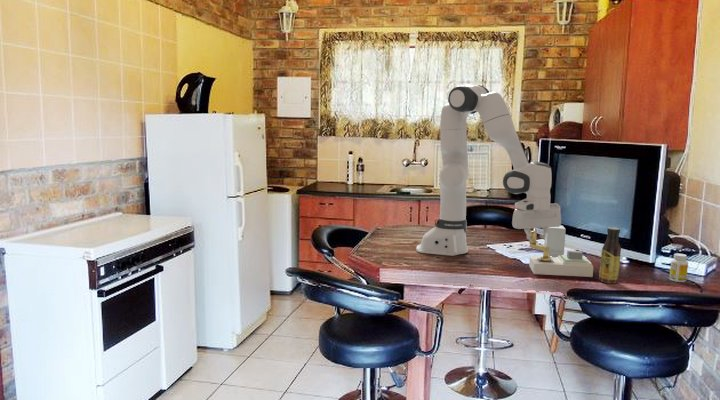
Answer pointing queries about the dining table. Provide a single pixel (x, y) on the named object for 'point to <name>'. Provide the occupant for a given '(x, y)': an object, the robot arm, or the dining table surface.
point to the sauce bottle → (610, 257)
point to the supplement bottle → (679, 268)
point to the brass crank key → (539, 247)
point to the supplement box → (555, 241)
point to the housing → (560, 267)
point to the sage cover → (574, 257)
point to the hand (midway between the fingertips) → (536, 238)
